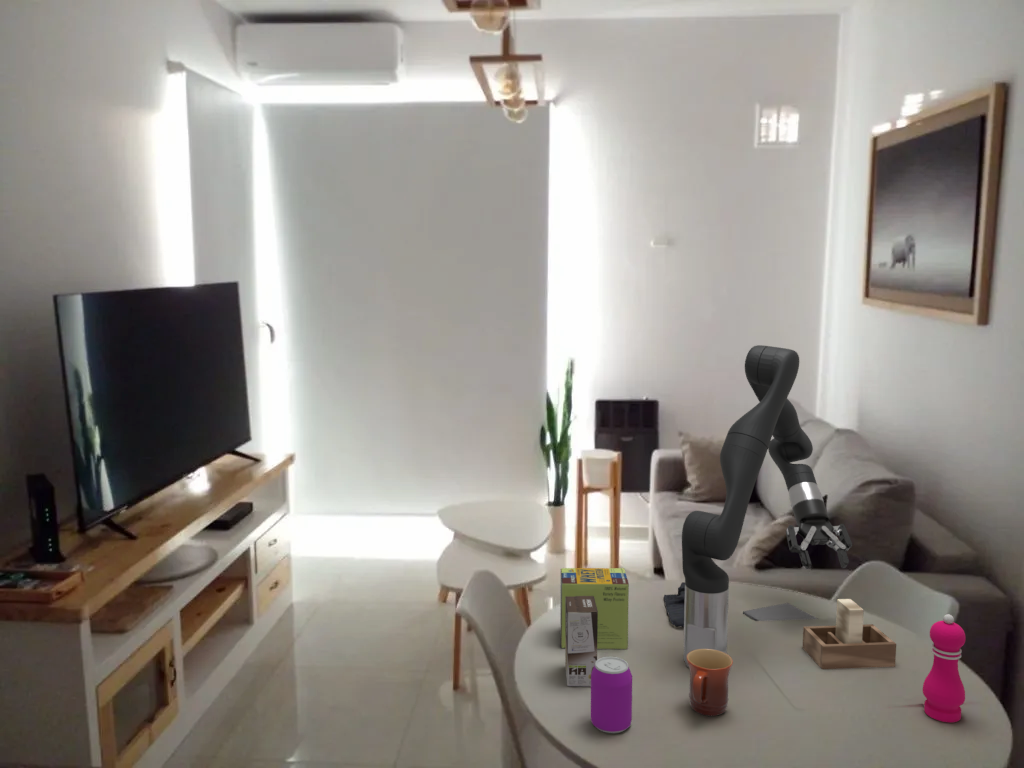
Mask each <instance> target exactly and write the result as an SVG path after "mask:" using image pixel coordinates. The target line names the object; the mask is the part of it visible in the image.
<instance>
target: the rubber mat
mask: <svg viewBox="0 0 1024 768" xmlns="http://www.w3.org/2000/svg"><path fill="white" fill-rule="evenodd" d="M742 614H743V615H745V616H746V617H748V618H749V619H751V620H753V621H755V622H765V621H766V622H767V621H768V622H770V621H771V622H772V621H795V620H796V621H797V620H798V621H800V620H803V621H804V620H819V618H817V617H815V616H813V615H812V614H810V613H808V612H806V611H805V610H802V609H800V608H799V607H797V606H794V605H793V604H791V603H789V602H784V603H780V604H775V605H774V604H773V605H769V606H764V607H759V608H758V607H757V608H752V609H748V610H743V611H742Z"/></svg>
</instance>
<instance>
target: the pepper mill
mask: <svg viewBox="0 0 1024 768" xmlns="http://www.w3.org/2000/svg"><path fill="white" fill-rule="evenodd" d="M942 619H943V620H938V621H936V622H934V623H933V624H932V625H931V626H930V629H929V638H930V640H931V642H932V644H931V653H932V654H933V663H932V667H931V668H930V671H929V673H928V674H927V675H926V677H925V679H924V682H923V685H922V694H923V696H924V697H925V701H924V706H923V707H924V708H923V711H924V713H925V714H926V715H927V716H928V717H930V718H931V719H934V720H935V721H939V722H943V723H952V724H953V723H956V722H959V721H960V720H961V719H962V708H961V706H962V705H963V704H964V703H965V701H966V691H965V687H964V684H963V681H962V679H961V675H960V672H959V660H960V659H961V658H962V653H963V652H962V651H963V650H962V649H961V648H962V647H963V646H964V645H965V643H966V641H967V640H966V639H967V638H966V633H965V630H964V629H963V628H962V627H961V626H960V625H959V624H958V623H956V622H955V618H954V616H953V615H952V614H950V613H948V614H947V613H946V614H945V615H944V616H943V618H942Z"/></svg>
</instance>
